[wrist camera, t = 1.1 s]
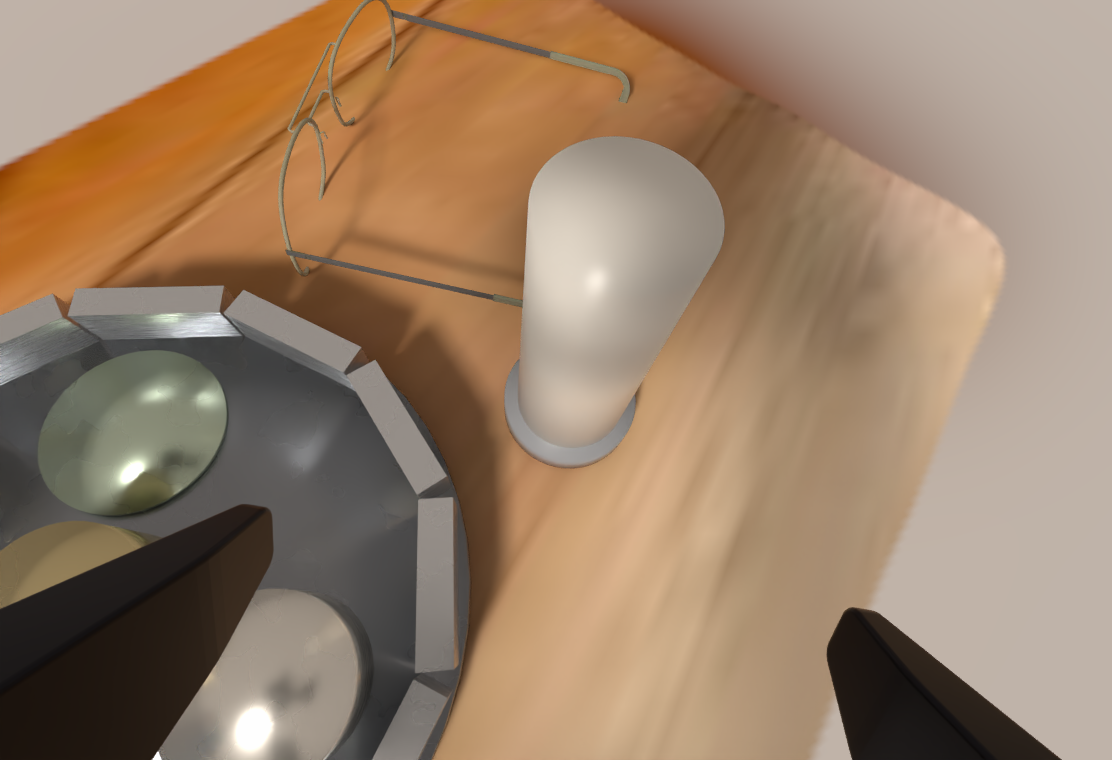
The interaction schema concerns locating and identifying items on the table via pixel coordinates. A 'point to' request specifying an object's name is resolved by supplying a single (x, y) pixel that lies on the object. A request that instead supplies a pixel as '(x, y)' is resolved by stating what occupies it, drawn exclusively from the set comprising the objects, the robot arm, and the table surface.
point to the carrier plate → (245, 478)
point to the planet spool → (603, 289)
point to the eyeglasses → (312, 123)
